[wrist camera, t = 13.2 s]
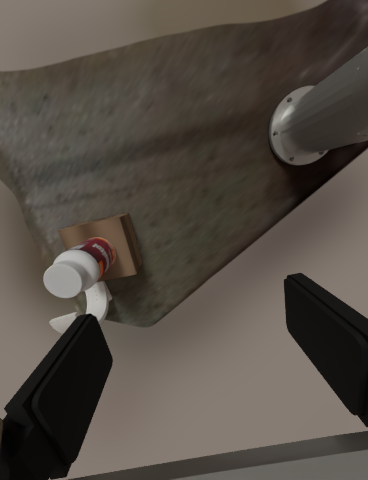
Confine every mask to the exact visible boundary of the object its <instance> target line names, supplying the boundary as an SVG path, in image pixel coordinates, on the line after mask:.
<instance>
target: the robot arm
mask: <svg viewBox="0 0 368 480" xmlns="http://www.w3.org/2000/svg"><path fill="white" fill-rule="evenodd" d="M273 134H274V136H273ZM365 140H368V47H367V48H366V49H364V50H363V51H362V52H360V53H359V54H358V55H356V56H355V57H354V58H352V59H351V60H350V61H348V62H347V63H346V64H344V65H343V66H342V67H340V68H339V69H338V70H336V71H335V72H334V73H332V74H331V75H330V76H328V77H327V78H326V79H324V80H323V81H322V82H320V83H319V84H318V85H316V86H306V87H302V88H299V89H297V90H295V91H293V92H292V93H290V94H289V95H288V96H286V97H285V98H284V99H283V100H282V101H281V102H280V104H279V105H278V106H277V108H276V109H275V111H274V113H273V115H272V118H271V121H270V125H269V141H270V145H271V148H272V150H273V152H274V153H275V155H276V156H277V157H278V158H279V159H280V160H281V161H283V162H285V163H287V164H290V165H297V166H298V165H305V164H310V163H312V162H314V161H316V160H318V159H320V158H321V157H322V156H324V155H325V154H326V153H327V152H328V151H329V150H330V149H334V148H338V147H342V146H345V145H349V144H353V143H357V142H361V141H365ZM289 158H290V160H289ZM284 292H285V308H286V324H287V328H288V331H289V333H290V334H291V335H292V337H293V338H294V339H295V341H296V342H297V343H298V345H299V346H300V347H301V349H302V350H303V351H304V352H305V354H306V355H307V356H308V358H309V359H310V360H311V362H312V363H313V364H314V366H315V367H316V368H317V370H318V371H319V372H320V374H321V375H322V376H323V377H324V379H325V380H326V381H327V383H328V384H329V385H330V387H331V388H332V389H333V391H334V392H335V393H336V394H337V396H338V397H339V398H340V400H341V401H342V402H343V404H344V405H345V406H346V408H347V409H348V410H349V411H350V412H351V413H352V414H353V415H358V417H359V418H360V419H361V420H362V422H363V423H364V424H365V426H366V427H368V319H367V318H366V317H364V316H363V315H361V314H360V313H358V312H357V311H356V310H354V309H353V308H351V307H350V306H348V305H347V304H346V303H344V302H343V301H341V300H340V299H338V298H337V297H335V296H334V295H333V294H331V293H330V292H328V291H327V290H325V289H324V288H322V287H321V286H320V285H318V284H317V283H315V282H314V281H312V280H311V279H309V278H308V277H307V276H305V275H304V274H302V273H297V274H292V275H288V276H287V279H284ZM112 362H113V359H112V355H111V353H110V351H109V348H108V345H107V343H106V340H105V338H104V335H103V332H102V330H101V327H100V325H99V322H98V320H97V317H96V316H93V315H92V314H90V313H89V314H84V315H79V316H77V317H76V319H75V320H74V321H73V322H72V324H71V325H70V326H69V327H68V329H67V330H66V331H65V332H64V334H63V335H62V336H61V337H60V339H59V340H58V341H57V342H56V344H55V345H54V346H53V347H52V349H51V350H50V351H49V353H48V354H47V355H46V356H45V357H44V359H43V360H42V361H41V362H40V364H39V365H38V366H37V367H36V369H35V370H34V371H33V373H32V374H31V375H30V376H29V378H28V379H27V380H26V381H25V383H24V384H23V385H22V386H21V388H20V389H19V390H18V391H17V393H16V394H15V395H14V396H13V398H12V399H11V400H10V402H9V403H8V404H7V405H6V407H5V408H4V409H5V411H6V412H7V415H6V417H5V418H4V419H3V420H2V419H1V418H0V480H48V479H49V477H50V479H51V480H52V479H58V478H64V477H66V476H67V474H68V471H69V469H70V467H71V464H72V463H73V462H74V461H75V460H76V458H77V456H78V454H79V451H80V449H81V446H82V443H83V441H84V438H85V435H86V433H87V430H88V428H89V425H90V422H91V420H92V417H93V414H94V412H95V409H96V406H97V404H98V401H99V399H100V396H101V393H102V391H103V388H104V385H105V382H106V380H107V377H108V374H109V372H110V369H111V367H112ZM68 480H368V431H364V432H357V433H350V434H342V435H335V436H329V437H322V438H316V439H310V440H303V441H297V442H291V443H284V444H278V445H272V446H266V447H259V448H253V449H247V450H240V451H235V452H228V453H222V454H217V455H211V456H204V457H199V458H192V459H186V460H180V461H174V462H168V463H162V464H156V465H150V466H144V467H138V468H132V469H126V470H120V471H115V472H109V473H104V474H97V475H91V476H86V477H81V478H74V479H68Z"/></svg>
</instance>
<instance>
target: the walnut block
mask: <svg viewBox="0 0 368 480" xmlns="http://www.w3.org/2000/svg"><path fill="white" fill-rule="evenodd" d="M58 231H59V234H60V236H61V239H62V241H63V244H64V246H65V249H66V251H67V250H69V249H71V248H73V247H75V246H76V245H78V244H80V243H82V242H84V241H86V240H88V239H90V238H94V237H100V238H104V239H106V240H108V241H109V242H110V243H111V244H112V245H113V247H114V248H115V251H116V258H115V261H114V263H113V264H112V266H111V267H110V268H109V269H108V270H107V271H106V272H105V273H104V275H103V276H102V277H101V278H100V279H99V280H98V281H97V282H101V281H106V280H111V279H116V278H121V277H126V276H131V275H136V274H137V272H138V270H139V268H140V266H141V264H142V258H141V255H140V251H139V248H138V244H137V241H136V237H135V234H134V230H133V227H132V223H131V220H130V216H129V213H126V214H122V215H117V216H112V217H107V218H102V219H98V220H93V221H88V222H83V223H78V224H75V225H72V226H69V227H66V228H63V229H60V230H58Z"/></svg>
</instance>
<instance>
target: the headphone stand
mask: <svg viewBox="0 0 368 480" xmlns="http://www.w3.org/2000/svg"><path fill="white" fill-rule="evenodd" d="M85 293H86V297H87V311H86V314H89V313H90V314H92V315H93V316H96V317H97V320H98V322H99V325H100V324H101V323H102V322H103V321H104V319H105V317H106V315H107V311H108V305H109V301H110V300H112V296H111V294H110V291H109V289H108V287H107V285H106V283H105V281H101V282H96V283H95V284H94V285H93V286H92V287H91V288H89V289H87V290H85ZM77 316H79V313H78V312H75V313H71V314H68V315H64V316H61V317H58V318H54V319H52V320H51V321H50V322H49V323H50V325H51V326H52V327H53V328H54V329H55V330H56V331H58V332H60V333H62V334H64V332H65V331H66V330H67V329H68V327H69V326H70V325H71V324H72V322H73V321H74V320H75V319H76V317H77Z"/></svg>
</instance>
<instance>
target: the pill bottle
mask: <svg viewBox="0 0 368 480" xmlns="http://www.w3.org/2000/svg"><path fill="white" fill-rule="evenodd" d="M115 258H116V251H115V248H114V247H113V245H112V244H111V243H110V242H109V241H108V240H106V239H104V238H100V237H94V238H90V239H88V240H86V241H84V242H82V243H80V244H78V245H76V246H75V247H73V248H71V249H69V250H67V251H65V252H64V253H62V254H60V255H59V256H58V257H57V258H56V260H55V261H54V263H53V265H52V266H51V267H49V268H48V269H47V270H46V272H45V274H44V284H45V286H46V288H47V289H48V290H49V292H51V293H52V294H53V295H55V296H58V297H61V298H71V297H74V296H76V295H77V294H78V293H79V292H81V291H85V290H87V289H89V288H91V287H92V286H93V285H94V284H95V283H96V282H97V281H98V280H99V279H100V278H101V277H102V276H103V275H104V273H105V272H106V271H107V270H108V269H109V268H110V267H111V266H112V264H113V263H114V261H115Z"/></svg>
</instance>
